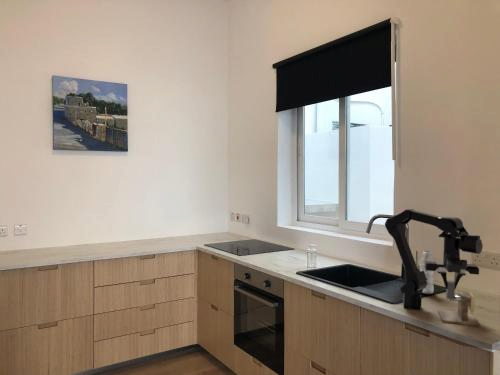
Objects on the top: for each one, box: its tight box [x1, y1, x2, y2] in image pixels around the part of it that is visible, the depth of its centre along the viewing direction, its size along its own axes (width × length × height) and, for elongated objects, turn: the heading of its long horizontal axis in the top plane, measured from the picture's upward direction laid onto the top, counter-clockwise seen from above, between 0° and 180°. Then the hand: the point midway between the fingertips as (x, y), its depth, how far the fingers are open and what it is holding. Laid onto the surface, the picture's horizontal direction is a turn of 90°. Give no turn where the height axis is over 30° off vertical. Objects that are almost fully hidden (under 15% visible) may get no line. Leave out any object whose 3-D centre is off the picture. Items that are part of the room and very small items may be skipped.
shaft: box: [445, 279, 476, 303], centre depth 160 cm, size 10×3×8 cm, turn 72°
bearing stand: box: [437, 290, 481, 327], centre depth 160 cm, size 13×12×10 cm
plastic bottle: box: [418, 250, 435, 295], centre depth 194 cm, size 6×7×20 cm
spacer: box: [467, 291, 475, 313], centre depth 159 cm, size 1×6×6 cm, turn 162°
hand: (450, 289), depth 161 cm, fingers closed on shaft, 2 cm apart
